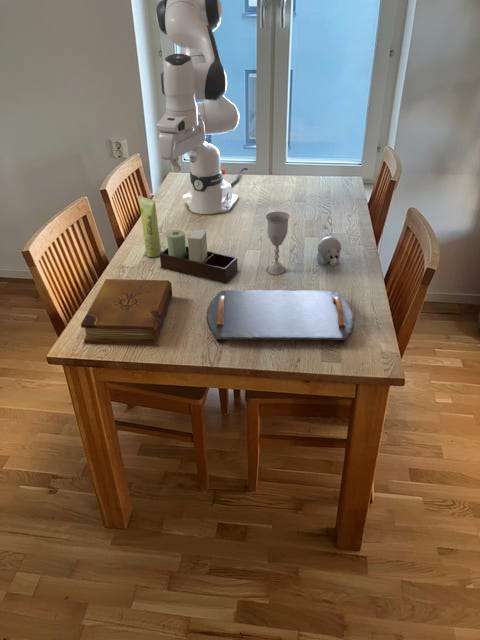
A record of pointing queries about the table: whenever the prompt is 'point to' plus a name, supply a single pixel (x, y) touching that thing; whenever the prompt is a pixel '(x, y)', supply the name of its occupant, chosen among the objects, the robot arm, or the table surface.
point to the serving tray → (280, 315)
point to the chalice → (277, 236)
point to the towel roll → (176, 243)
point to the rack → (202, 266)
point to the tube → (150, 226)
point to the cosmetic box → (197, 246)
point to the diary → (128, 312)
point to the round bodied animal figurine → (329, 251)
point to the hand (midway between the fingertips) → (185, 166)
